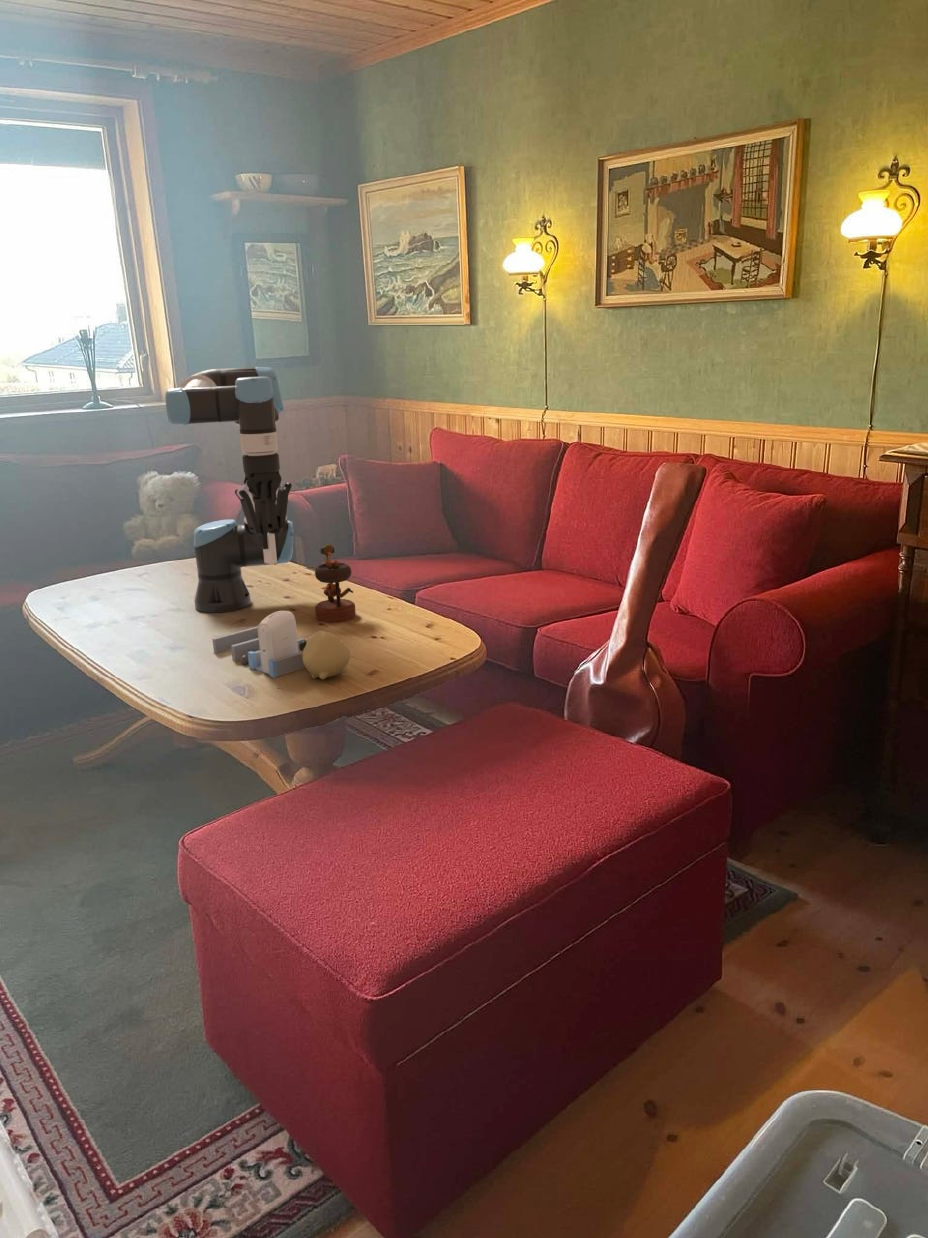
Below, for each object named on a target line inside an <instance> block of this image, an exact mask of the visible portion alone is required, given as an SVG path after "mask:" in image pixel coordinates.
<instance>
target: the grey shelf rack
mask: <svg viewBox="0 0 928 1238" xmlns="http://www.w3.org/2000/svg"><path fill="white" fill-rule="evenodd" d="M258 626H259V625H257V626H254V627H250V628H246V629H243V630H238V631H235V632H231V633H228V634H223V635H219V636H217V637H216V636H215V637H214V638H212V646H213V647H212V648H213V653H214V654H222V653H224V652H228V651H230V650H231V657H232V661H234V662H237V661H240V662H241V663H242V664H243V665H247V664H248V668H249V670H252V671H253V670H257V671H259V672H261V673H264V674H267V675H269V677H271V678H272V679H276V678H279V677H281V676H283V675H287V674H290V673H293V672H296V671H299V670H303V669H307V668H306V667H305V665H304V663H303V656H302V655H301V653H300V648H299V644H300V643H301V642H302V641H303V640H306V638H305V637H301V638H297V641H298V652H299V653H295V654H292V655H289V656H285V657H282V658H279V659H276V660H274V659H270V660H268V663H269V673H266V672H264V670H262V666H261V656H260V647H259V638H258ZM227 650H228V651H227Z"/></svg>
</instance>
